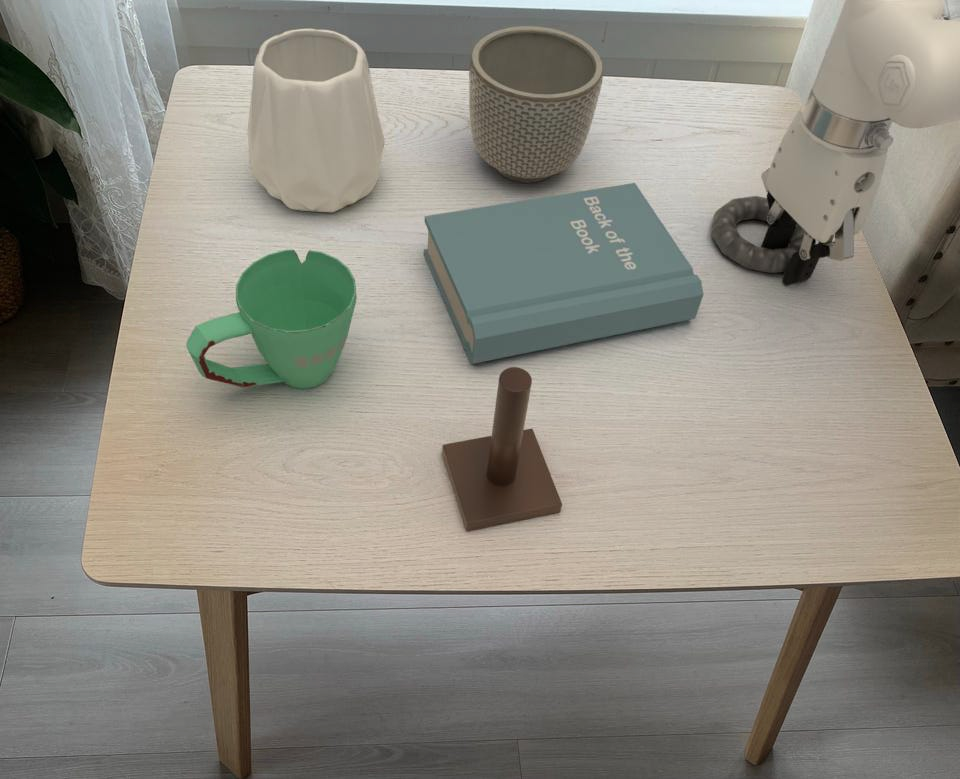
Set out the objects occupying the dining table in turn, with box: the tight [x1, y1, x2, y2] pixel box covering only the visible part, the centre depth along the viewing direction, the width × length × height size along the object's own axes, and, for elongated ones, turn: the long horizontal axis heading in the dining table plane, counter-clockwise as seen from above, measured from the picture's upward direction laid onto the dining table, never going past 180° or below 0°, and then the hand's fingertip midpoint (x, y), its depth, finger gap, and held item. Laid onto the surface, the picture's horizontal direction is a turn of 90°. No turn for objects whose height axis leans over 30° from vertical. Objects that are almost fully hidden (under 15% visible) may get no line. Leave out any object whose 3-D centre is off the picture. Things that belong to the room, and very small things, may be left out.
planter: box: [468, 25, 605, 184], centre depth 102 cm, size 14×14×13 cm
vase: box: [247, 28, 386, 213], centre depth 97 cm, size 14×14×15 cm
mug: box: [185, 249, 358, 390], centre depth 81 cm, size 15×10×10 cm
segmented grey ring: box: [710, 195, 805, 274], centre depth 100 cm, size 11×11×2 cm
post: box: [441, 366, 563, 532], centre depth 74 cm, size 8×8×13 cm
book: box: [423, 182, 704, 365], centre depth 93 cm, size 23×16×5 cm
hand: (783, 265), depth 99 cm, fingers open, 3 cm apart
